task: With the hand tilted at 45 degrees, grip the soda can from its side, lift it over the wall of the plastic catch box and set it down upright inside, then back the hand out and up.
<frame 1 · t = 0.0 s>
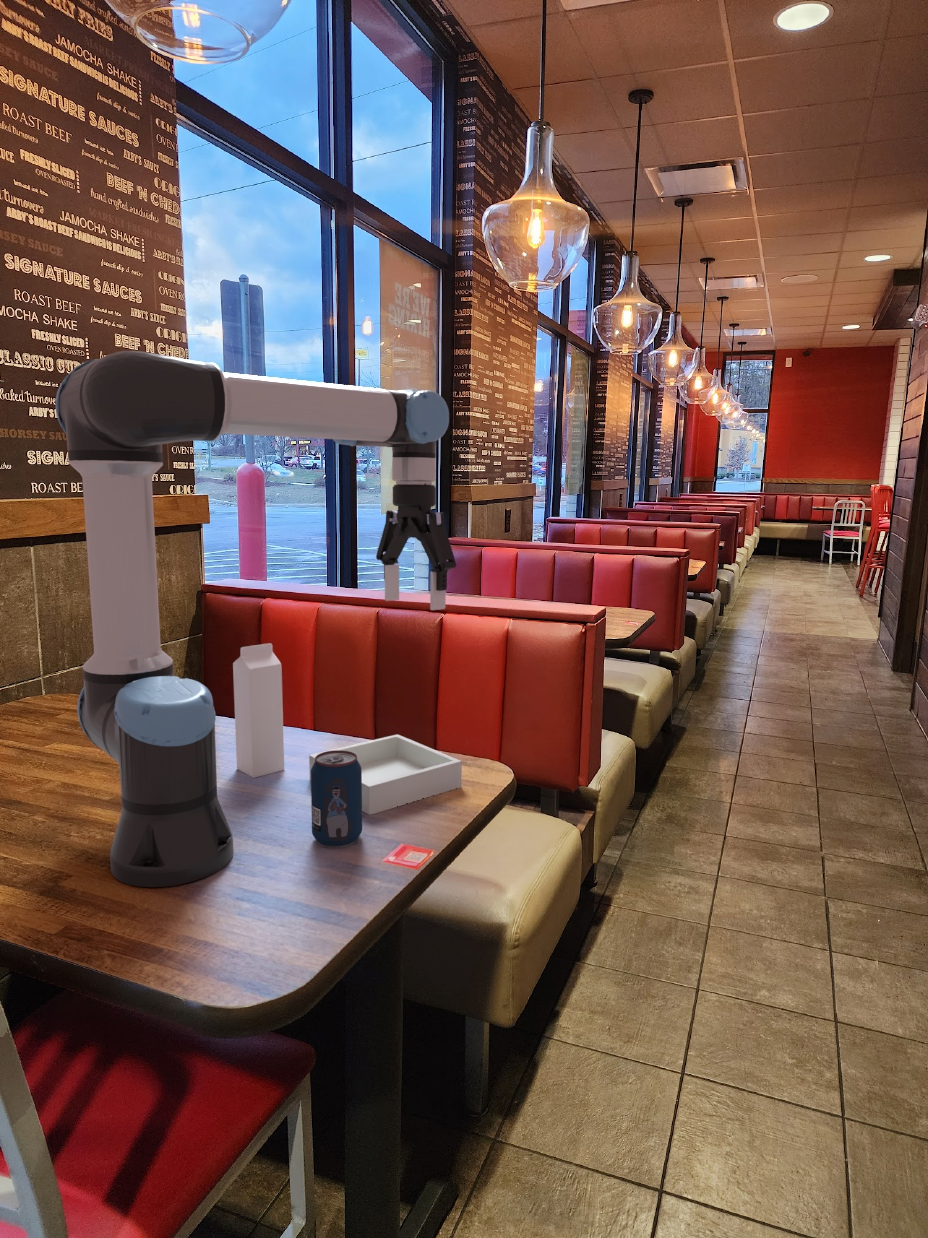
hand: (414, 604, 141), 28 cm above the table, tool pointing down, fingers open, 13 cm apart
catch box: (384, 784, 131), on the table
milk: (260, 770, 138), on the table
soda can: (337, 840, 111), on the table
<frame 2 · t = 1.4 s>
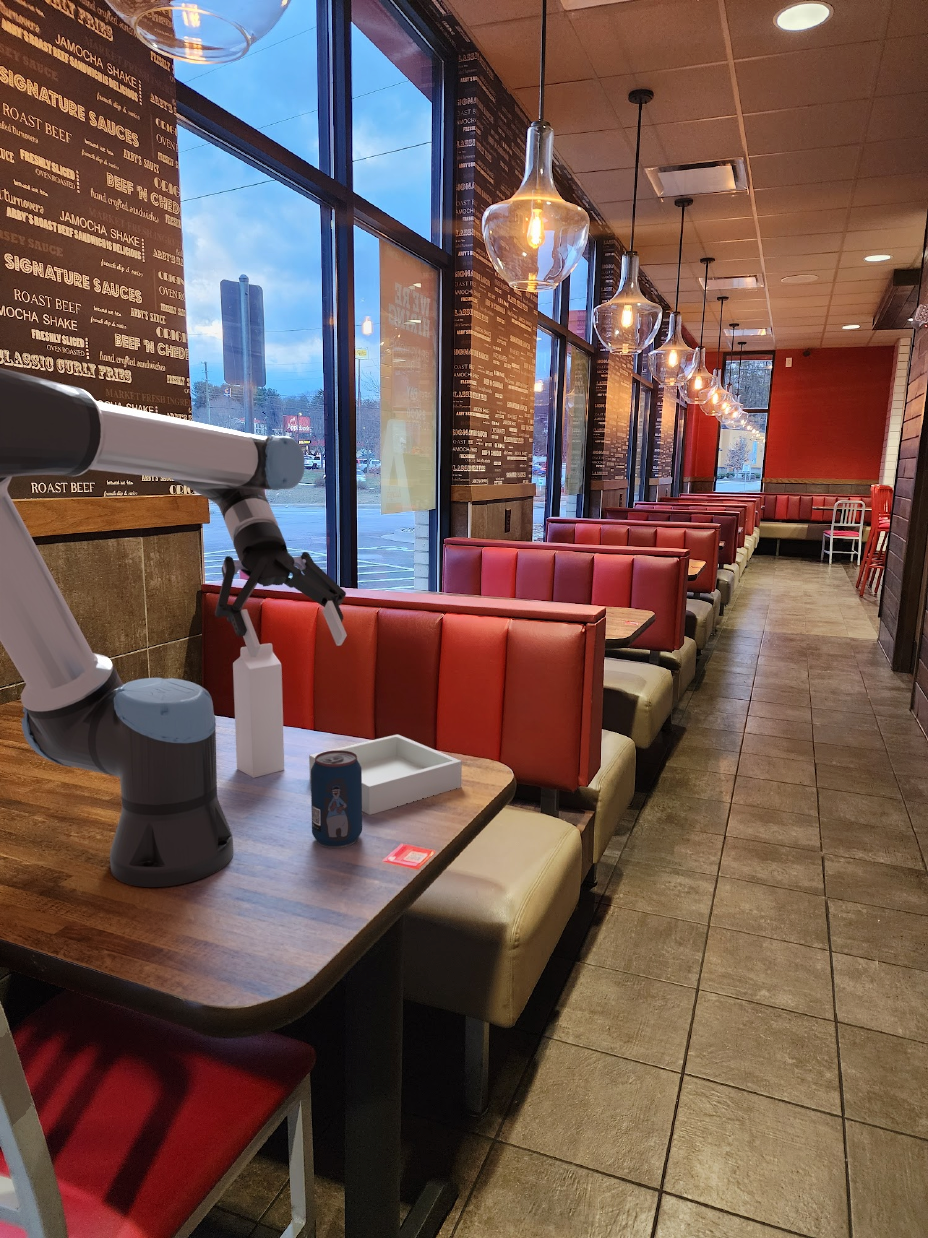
hand: (300, 646, 115), 26 cm above the table, tool tilted 45°, fingers open, 13 cm apart
nothing on the table moved.
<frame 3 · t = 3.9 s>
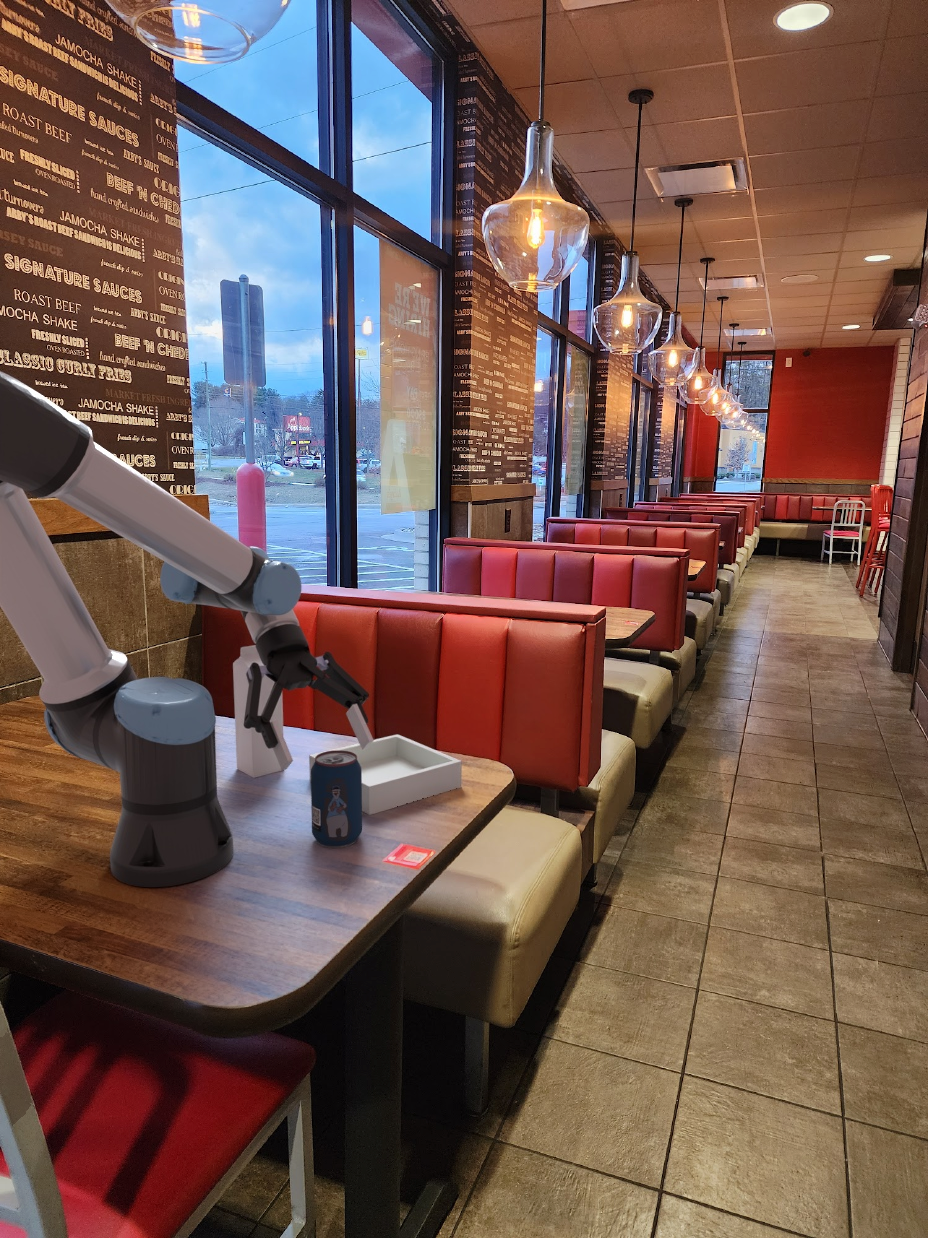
hand: (329, 755, 115), 10 cm above the table, tool tilted 45°, fingers open, 13 cm apart
nothing on the table moved.
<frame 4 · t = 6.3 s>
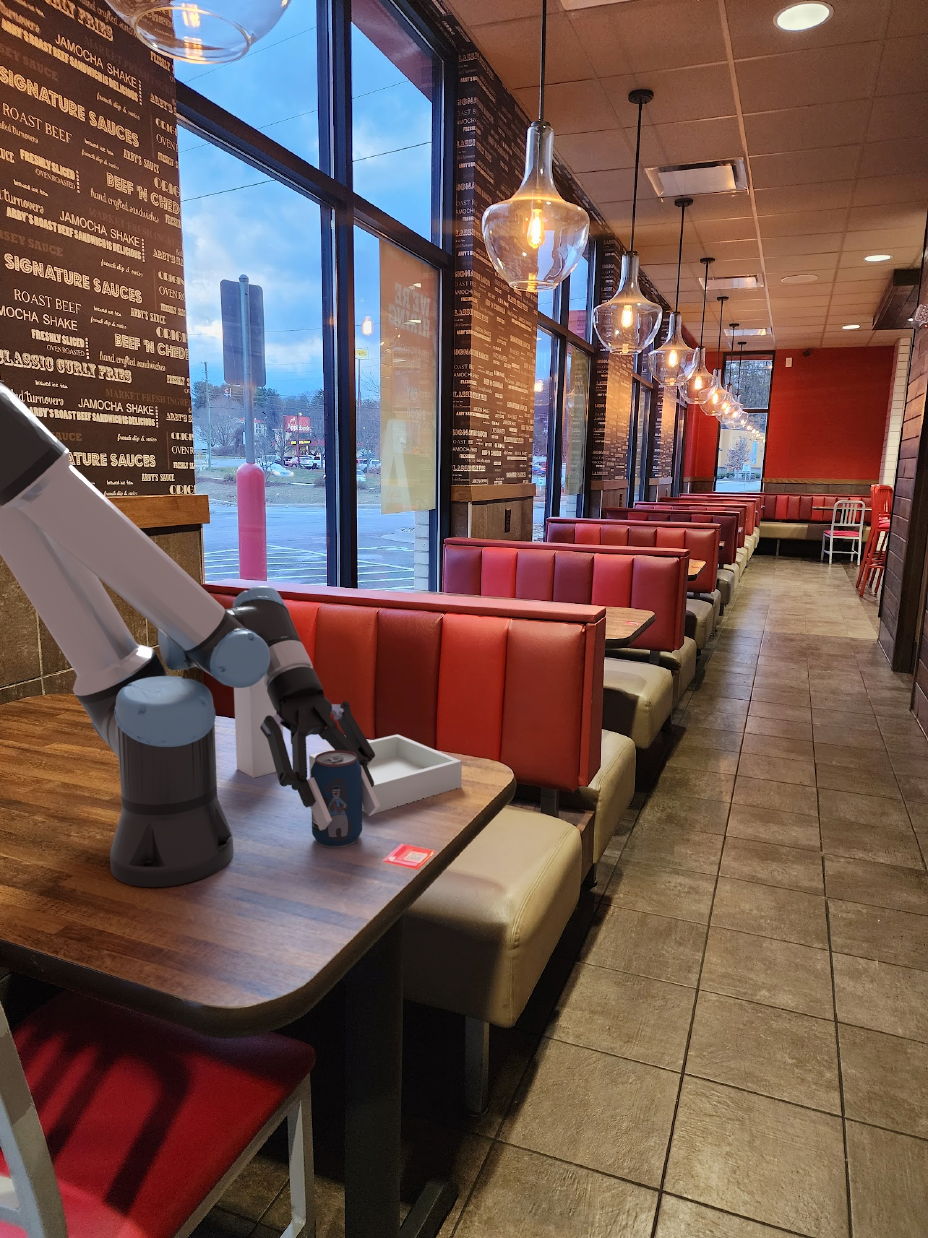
hand: (350, 818, 107), 4 cm above the table, tool tilted 45°, fingers closed on soda can, 7 cm apart
soda can: (337, 840, 111), on the table, touching gripper
everything else where it was.
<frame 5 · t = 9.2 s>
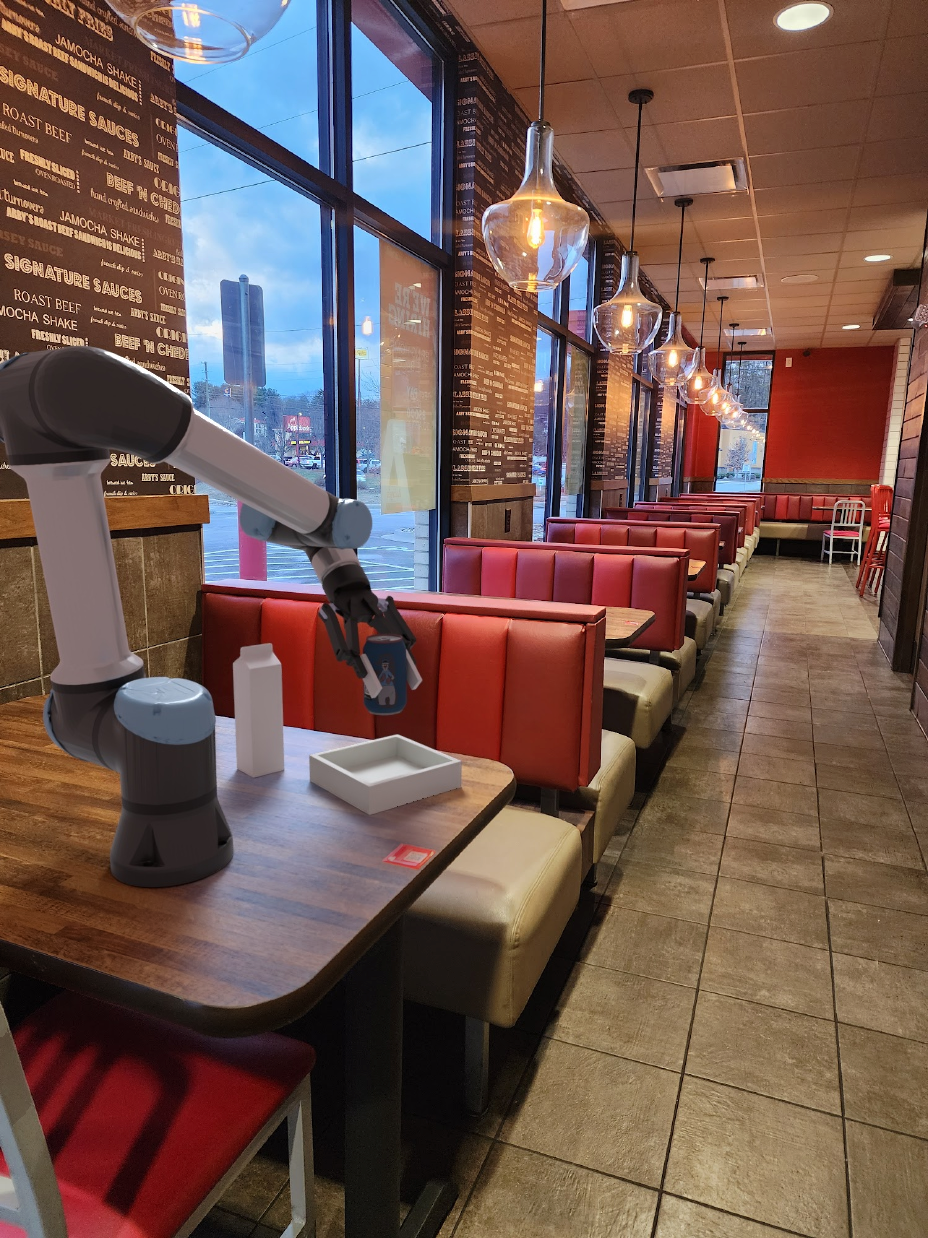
hand: (397, 688, 125), 17 cm above the table, tool tilted 45°, fingers closed on soda can, 7 cm apart
soda can: (385, 711, 128), point 13 cm above the table, touching gripper
everything else where it was.
when the fingers open (7 cm above the table, at t = 12.0 s): soda can drops 1 cm, resting on catch box.
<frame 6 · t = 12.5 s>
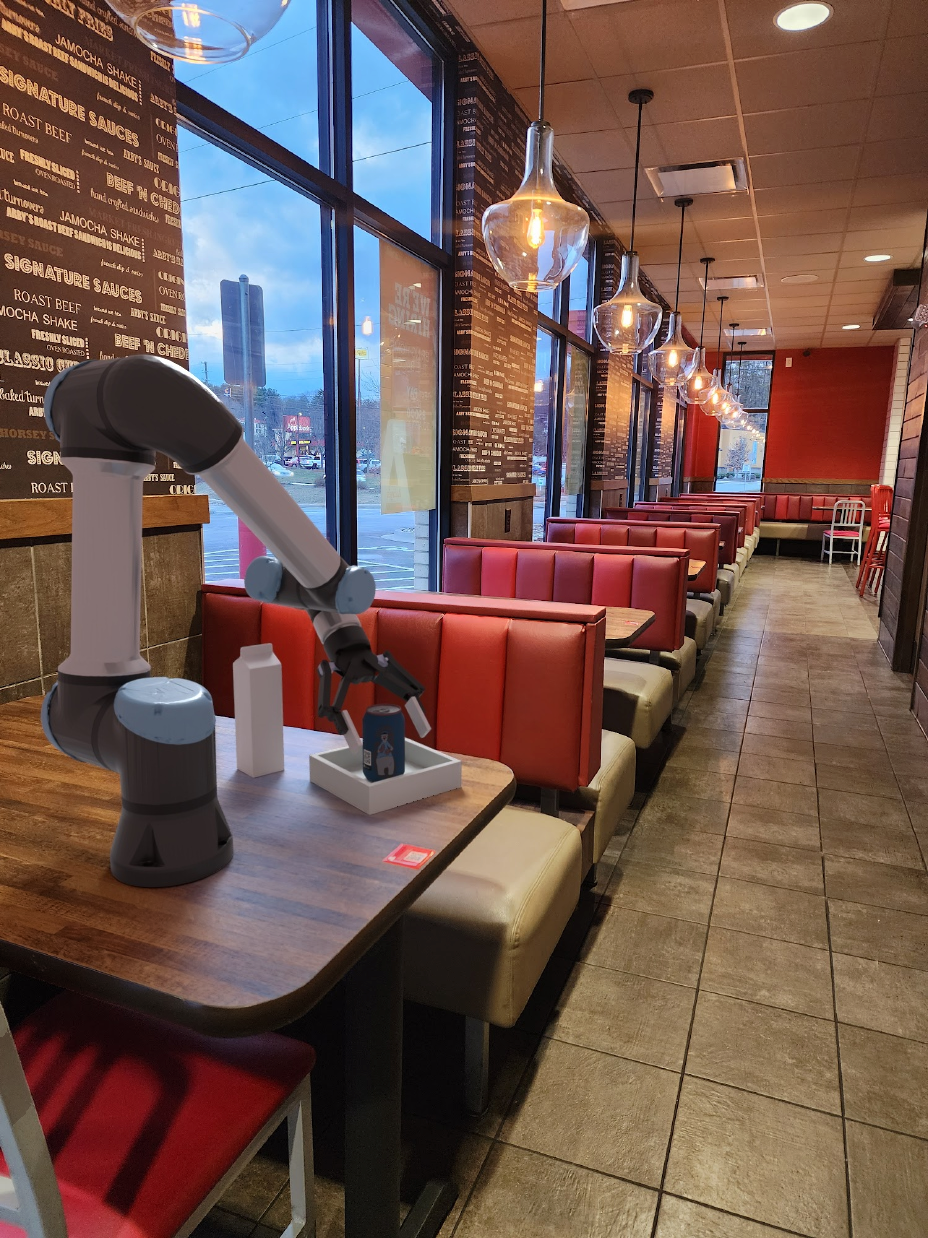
hand: (393, 741, 128), 8 cm above the table, tool tilted 45°, fingers open, 13 cm apart
soda can: (383, 779, 131), point 1 cm above the table, touching catch box
everything else where it was.
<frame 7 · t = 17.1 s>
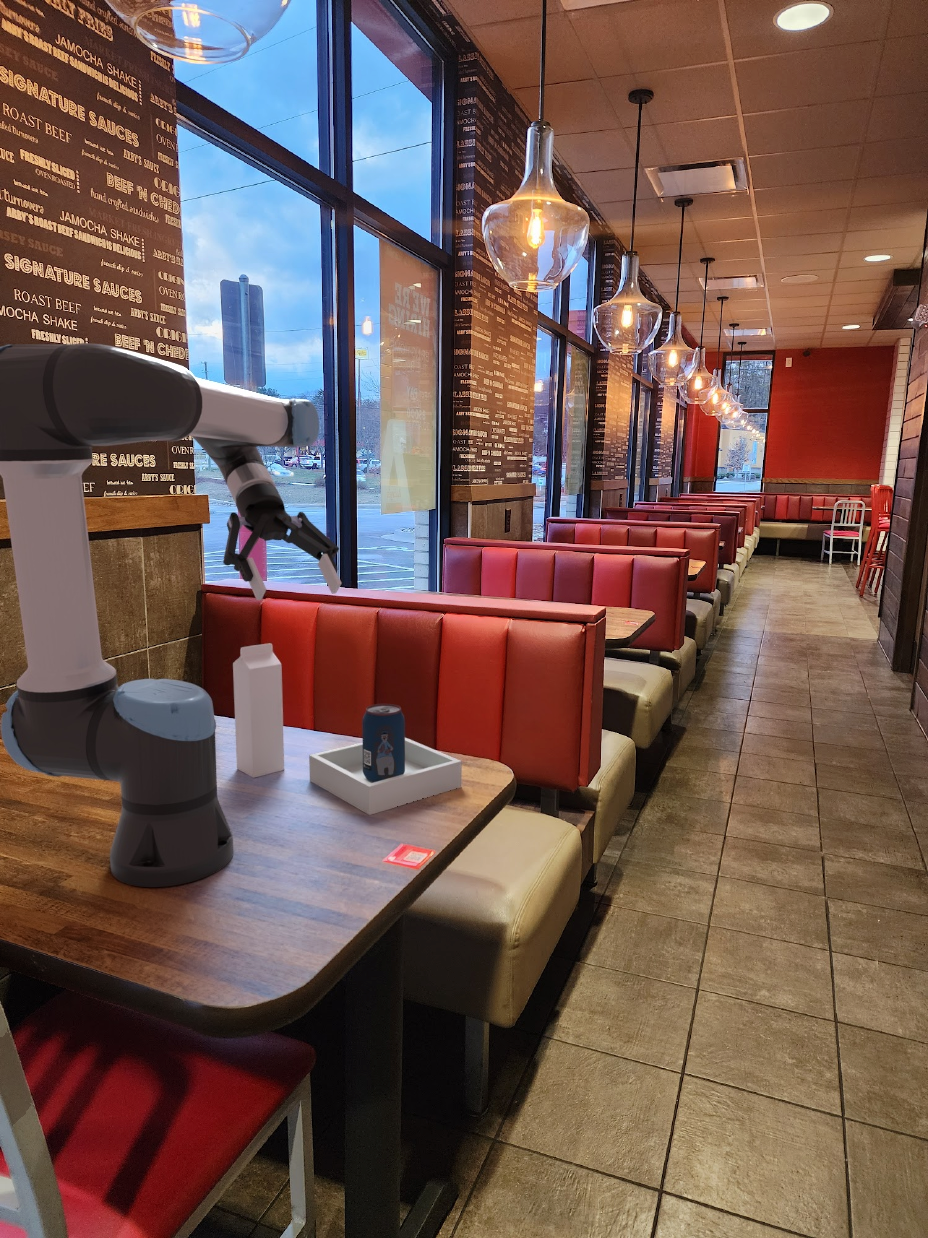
hand: (300, 591, 129), 32 cm above the table, tool tilted 45°, fingers open, 13 cm apart
nothing on the table moved.
at the end: soda can inside the target area on the catch box (0.2 cm from its centre), point 0.8 cm above the catch box's base; soda can tilted 0°; the gripper is holding nothing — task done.
